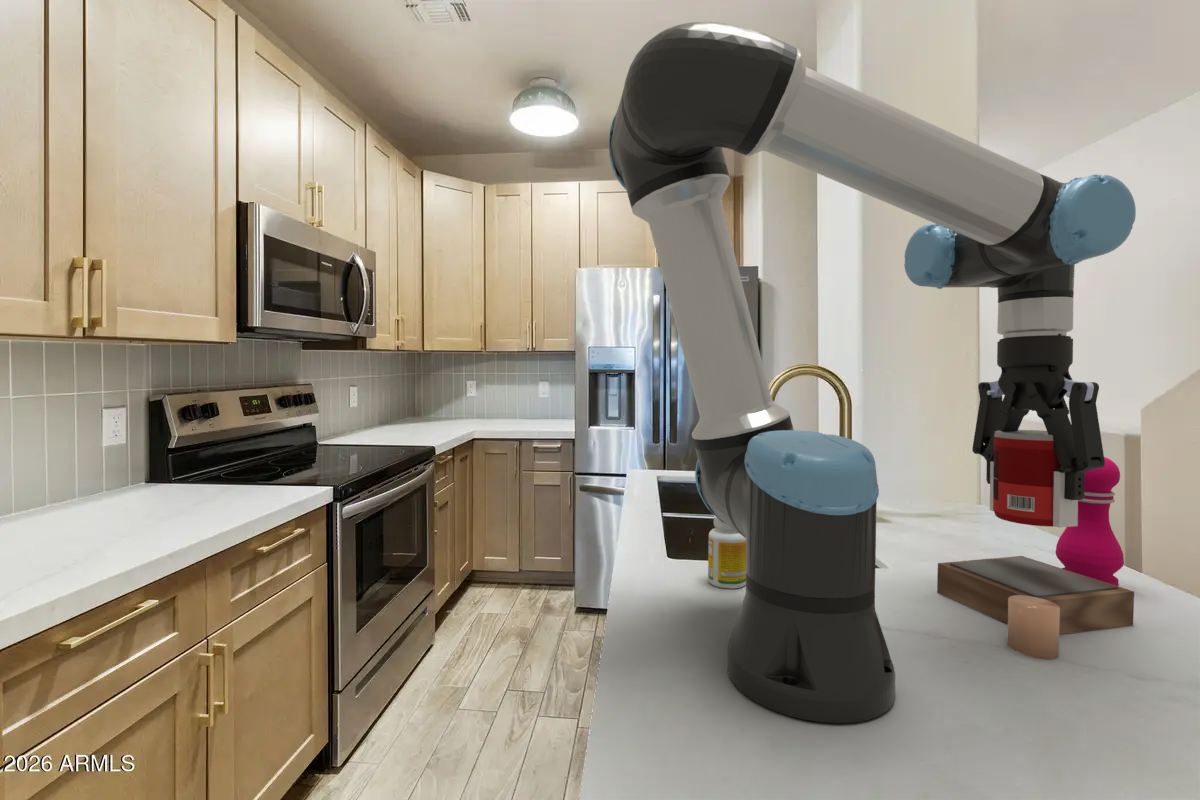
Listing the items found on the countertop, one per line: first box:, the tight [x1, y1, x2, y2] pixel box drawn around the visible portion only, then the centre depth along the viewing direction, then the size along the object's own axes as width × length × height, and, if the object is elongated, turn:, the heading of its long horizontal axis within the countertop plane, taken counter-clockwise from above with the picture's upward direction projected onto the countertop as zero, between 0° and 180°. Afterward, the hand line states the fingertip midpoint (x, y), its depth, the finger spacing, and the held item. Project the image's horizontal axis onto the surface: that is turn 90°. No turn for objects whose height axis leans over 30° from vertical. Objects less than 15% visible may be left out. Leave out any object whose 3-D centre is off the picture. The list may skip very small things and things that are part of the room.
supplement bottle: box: [707, 515, 746, 590], centre depth 81 cm, size 5×5×10 cm
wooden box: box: [936, 555, 1135, 636], centre depth 72 cm, size 14×14×4 cm
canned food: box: [993, 429, 1061, 528], centre depth 72 cm, size 8×8×11 cm
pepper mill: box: [1055, 456, 1125, 587], centre depth 79 cm, size 7×7×20 cm
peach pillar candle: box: [1006, 595, 1060, 660], centre depth 61 cm, size 4×4×5 cm
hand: (1031, 517), depth 72 cm, fingers closed on canned food, 8 cm apart
